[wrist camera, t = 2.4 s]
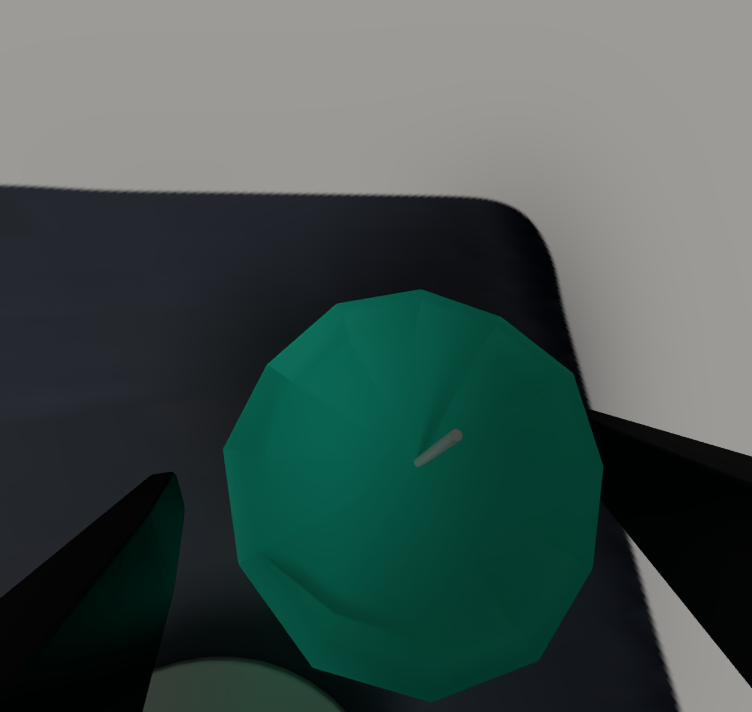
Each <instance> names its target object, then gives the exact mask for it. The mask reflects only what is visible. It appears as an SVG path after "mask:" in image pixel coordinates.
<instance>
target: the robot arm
mask: <svg viewBox="0 0 752 712" xmlns="http://www.w3.org/2000/svg"><path fill="white" fill-rule="evenodd" d="M585 411H586V414H587V417H588V421H589V424H590V427H591V430H592V433H593V436H594V439H595V442H596V445H597V448H598V451H599V454H600V457H601V461H602V464H603V475H602V485H601V494H600V499H601V501H602V502H603V503H604V505H605V506H606V507H607V509H608V510H609V511H610V512H611V514H612V515H613V516H614V517H615V519H616V520H617V521H618V522H619V524H620V525H621V526H622V527H623V529H624V530H625V531H626V532H627V534H628V535H629V536H630V537H631V539H632V540H633V541H634V542H635V544H636V545H637V546H638V547H639V549H640V550H641V551H642V552H643V553H644V555H645V556H646V557H647V558H648V560H649V561H650V562H651V563H652V565H653V566H654V567H655V568H656V570H657V571H658V572H659V573H660V575H661V576H662V577H663V578H664V580H665V581H666V582H667V583H668V585H669V586H670V587H671V588H672V590H673V591H674V592H675V593H676V594H677V596H678V597H679V598H680V599H681V601H682V602H683V603H684V604H685V605H686V607H687V608H688V609H689V611H690V612H691V613H692V614H693V616H694V617H695V618H696V619H697V621H698V622H699V623H700V624H701V626H702V627H703V628H704V629H705V631H706V632H707V633H708V634H709V635H710V637H711V638H712V639H713V641H714V642H715V643H716V644H717V645H718V647H719V648H720V649H721V650H722V652H723V653H724V654H725V655H726V657H727V658H728V659H729V660H730V662H731V663H732V664H733V665H734V666H735V668H736V669H737V670H738V671H739V673H740V674H741V675H742V677H743V678H744V679H745V680H746V682H747V683H748V684H749V685H750V686H751V688H752V457H751V456H748V455H745V454H741V453H738V452H734V451H731V450H728V449H724V448H721V447H717V446H714V445H710V444H707V443H704V442H700V441H697V440H693V439H690V438H686V437H683V436H680V435H676V434H673V433H669V432H666V431H663V430H659V429H656V428H652V427H649V426H645V425H642V424H639V423H635V422H632V421H628V420H625V419H621V418H618V417H615V416H611V415H608V414H604V413H601V412H597V411H594V410H590V409H585ZM183 521H184V502H183V499H182V495H181V491H180V487H179V484H178V480H177V477H176V475H175V473H173V472H166V473H159V474H153V475H151V476H149V477H148V478H147V479H146V480H144V481H143V482H142V483H141V484H140V485H138V486H137V487H136V488H135V489H133V490H132V491H131V492H130V493H129V494H127V495H126V496H125V497H124V498H122V499H121V500H120V501H119V502H118V503H116V504H115V505H114V506H113V507H111V508H110V509H109V510H108V511H107V512H105V513H104V514H103V515H102V516H100V517H99V518H98V519H97V520H96V521H94V522H93V523H92V524H91V525H89V526H88V527H87V528H86V529H84V530H83V531H82V532H81V533H80V534H78V535H77V536H76V537H75V538H73V539H72V540H71V541H70V542H69V543H67V544H66V545H65V546H64V547H62V548H61V549H60V550H59V551H58V552H56V553H55V554H54V555H53V556H51V557H50V558H49V559H48V560H47V561H45V562H44V563H43V564H42V565H40V566H39V567H38V568H37V569H36V570H34V571H33V572H32V573H31V574H29V575H28V576H27V577H26V578H25V579H23V580H22V581H21V582H20V583H18V584H17V585H16V586H15V587H13V588H12V589H11V590H10V591H9V592H7V593H6V594H5V595H4V596H2V597H1V598H0V712H143V709H144V705H145V701H146V697H147V693H148V689H149V685H150V681H151V677H152V674H153V670H154V666H155V662H156V658H157V654H158V650H159V646H160V642H161V639H162V635H163V631H164V627H165V623H166V619H167V615H168V611H169V607H170V604H171V599H172V595H173V591H174V585H175V579H176V572H177V565H178V558H179V551H180V543H181V536H182V529H183Z"/></svg>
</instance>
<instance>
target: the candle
mask: <svg viewBox="0 0 752 712" xmlns="http://www.w3.org/2000/svg"><path fill="white" fill-rule="evenodd" d="M223 453H224V461H225V468H226V475H227V483H228V490H229V497H230V505H231V512H232V520H233V527H234V534H235V542H236V549H237V556H238V564H239V566H240V567H241V568H242V570H243V571H244V573H245V574H246V575H247V577H248V578H249V580H250V581H251V582H252V584H253V585H254V587H255V588H256V589H257V591H258V592H259V594H260V595H261V596H262V598H263V599H264V601H265V602H266V603H267V605H268V606H269V608H270V609H271V610H272V612H273V613H274V615H275V616H276V617H277V619H278V620H279V622H280V623H281V624H282V626H283V627H284V629H285V630H286V631H287V633H288V634H289V635H290V637H291V638H292V640H293V641H294V642H295V644H296V645H297V647H298V648H299V649H300V651H301V652H302V654H303V655H304V656H305V658H306V659H307V661H308V662H309V663H310V665H311V666H312V668H315V669H319V670H322V671H326V672H329V673H332V674H336V675H339V676H343V677H346V678H349V679H353V680H356V681H360V682H363V683H366V684H370V685H373V686H377V687H380V688H383V689H387V690H390V691H394V692H397V693H400V694H404V695H407V696H411V697H414V698H417V699H421V700H424V701H427V702H434V701H436V700H439V699H442V698H444V697H447V696H449V695H452V694H454V693H457V692H460V691H462V690H465V689H467V688H470V687H472V686H475V685H478V684H480V683H483V682H485V681H488V680H490V679H493V678H496V677H498V676H501V675H503V674H506V673H508V672H511V671H514V670H516V669H519V668H521V667H524V666H526V665H529V664H532V663H534V662H537V661H539V659H540V657H541V656H542V654H543V652H544V651H545V649H546V647H547V646H548V644H549V642H550V640H551V639H552V637H553V635H554V634H555V632H556V630H557V629H558V627H559V625H560V623H561V622H562V620H563V618H564V617H565V615H566V613H567V612H568V610H569V608H570V606H571V605H572V603H573V601H574V600H575V598H576V596H577V595H578V593H579V591H580V589H581V588H582V586H583V584H584V583H585V581H586V579H587V577H588V576H589V574H590V572H591V571H592V569H593V561H594V551H595V542H596V532H597V523H598V513H599V504H600V494H601V485H602V475H603V464H602V461H601V457H600V454H599V451H598V448H597V445H596V442H595V439H594V436H593V433H592V430H591V427H590V424H589V421H588V417H587V414H586V411H585V408H584V405H583V402H582V399H581V396H580V393H579V390H578V387H577V384H576V381H575V377H574V374H573V373H572V372H571V371H569V370H568V369H567V368H566V367H564V366H563V365H562V364H561V363H559V362H558V361H557V360H555V359H554V358H553V357H552V356H550V355H549V354H548V353H547V352H545V351H544V350H543V349H541V348H540V347H539V346H538V345H536V344H535V343H534V342H533V341H531V340H530V339H529V338H527V337H526V336H525V335H524V334H522V333H521V332H520V331H519V330H517V329H516V328H515V327H513V326H512V325H511V324H510V323H508V322H507V321H506V320H505V319H503V318H502V317H500V316H497V315H494V314H491V313H489V312H486V311H483V310H480V309H477V308H474V307H471V306H468V305H465V304H462V303H460V302H457V301H454V300H451V299H448V298H445V297H442V296H439V295H436V294H434V293H431V292H428V291H425V290H422V289H419V290H413V291H408V292H402V293H396V294H390V295H384V296H378V297H373V298H367V299H361V300H355V301H349V302H343V303H337V304H336V305H335V306H333V307H332V308H331V309H330V310H329V311H328V312H327V313H325V314H324V315H323V316H322V317H321V318H320V319H319V320H317V321H316V322H315V323H314V324H313V325H312V326H311V327H309V328H308V329H307V330H306V331H305V332H304V333H303V334H301V335H300V336H299V337H298V338H297V339H296V340H295V341H293V342H292V343H291V344H290V345H289V346H288V347H287V348H285V349H284V350H283V351H282V352H281V353H280V354H279V355H277V356H276V357H275V358H274V359H273V360H272V361H270V362H269V363H268V364H267V365H266V367H265V369H264V371H263V373H262V375H261V377H260V379H259V381H258V383H257V385H256V387H255V389H254V390H253V392H252V394H251V396H250V398H249V400H248V402H247V404H246V406H245V408H244V410H243V412H242V414H241V416H240V417H239V419H238V421H237V423H236V425H235V427H234V429H233V431H232V433H231V435H230V437H229V439H228V441H227V443H226V445H225V446H224V448H223Z"/></svg>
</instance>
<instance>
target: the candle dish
mask: <svg viewBox="0 0 752 712" xmlns="http://www.w3.org/2000/svg"><path fill="white" fill-rule="evenodd" d="M143 712H346V711H345V710H344V709H343V708H342V707H341V706H340V705H339V704H338V703H337V702H336V701H335V700H334V699H333V698H332V697H331V696H330V695H328V694H327V693H326V692H324V691H323V690H322V689H320V688H319V687H318V686H316V685H315V684H314V683H312V682H311V681H309V680H307V679H305V678H304V677H302V676H300V675H298V674H296V673H294V672H292V671H290V670H288V669H286V668H283V667H280V666H277V665H274V664H271V663H268V662H265V661H261V660H255V659H249V658H242V657H203V658H196V659H190V660H183V661H179V662H175V663H172V664H169V665H165V666H162V667H159V668H155V669H154V670H153V674H152V677H151V681H150V685H149V689H148V693H147V697H146V701H145V705H144V709H143Z"/></svg>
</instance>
